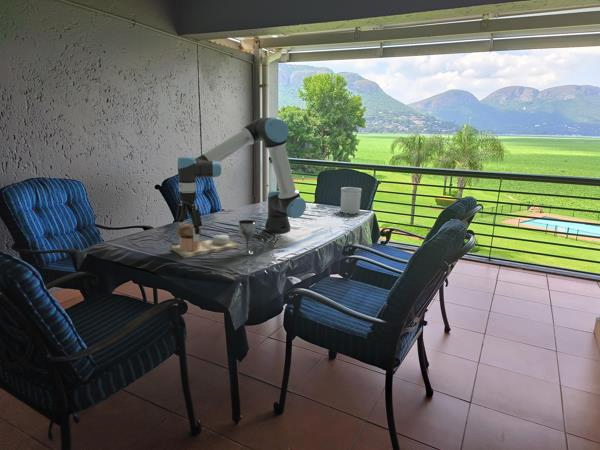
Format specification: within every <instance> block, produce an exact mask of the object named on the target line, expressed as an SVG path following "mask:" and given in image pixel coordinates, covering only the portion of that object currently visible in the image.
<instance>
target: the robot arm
mask: <svg viewBox="0 0 600 450" xmlns="http://www.w3.org/2000/svg"><path fill="white" fill-rule="evenodd" d="M289 131H290V130H289V126H288V124H287V123H286V122H285V120H283V119H281V118H279V117H275V116H274V117H273V116H272V117H260V118H257V119H255V120H253V121H252V122H249V124H247V125H246V126H244V127H242V128H241V131H239V132H238V133H236V134H235V135H232V136H230V138H227V139H226V140H224V141H223V142H221V143H219V144H217V145H216V146H214V147H213V148H211V149H209V150H207V151H206V152H204V153H203V154H201V155H199V156H197V157H193V156H180V157H178V158H177V178H178V191H179V193H178V198H179V199H178V201H177V209H176V216H175V220H176V221H178V226H179V225H184V224H186V216H187V215H189V216H190V219H191V224H193V225H194V226H193V241H199V239H200V234H199V227H200V226H201V227H203V223H202V218H201V213H200V207H199V204H195V201H196V200H197V179H199V178H203V179H204V178H218V177H220V176H221V175H222V165H221V162H223V161H224V160H226V159H227V158H228V157H230V156H232V155H234V154H235V153H237V152H238V151H240V150H242V149H244V148H245V147H247V146H248V145H254V144H255V143H257V142H263V144H264V148H265V149H267V150H268V152H269V156H270V160H271V163H272V167H273V171H274V175H275V179H276V182H277V187H278V190H271V191H270V190H269V192H268V194H267V218H266V221H265V224H264V231H266V232H267V233H273V234H282V233H288V232H290V231H291V223H290V220H289V219H290V218H291V219H299V218H301V216H303V214H305V212H306V209H307V204H306V201H305V199H303V198H302V197H301V194H300V190H299V189H297V188H296V186H295V185H296V184H295V181H294V178H293V173H292V169H291V164H290V160H289V157H288V152H287V148H286V145H287V143H288V140H287V139H288V135H289ZM288 217H289V218H288Z"/></svg>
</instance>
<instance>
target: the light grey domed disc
mask: <svg viewBox="0 0 600 450" xmlns="http://www.w3.org/2000/svg"><path fill="white" fill-rule="evenodd" d="M212 239H213V244H215V245H226V244H229V240H230V236H229V235H226V234H216V235H213V236H212Z"/></svg>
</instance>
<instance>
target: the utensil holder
mask: <svg viewBox="0 0 600 450" xmlns="http://www.w3.org/2000/svg"><path fill="white" fill-rule="evenodd" d="M362 190H363V189H362V188H361V187H353V186H347V187H345V186H344V187H341V188H340V213H342V212H343V213H342V214H347V213H349V215H357V214H359V213H360V208H361V197H362ZM356 213H357V214H356Z"/></svg>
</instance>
